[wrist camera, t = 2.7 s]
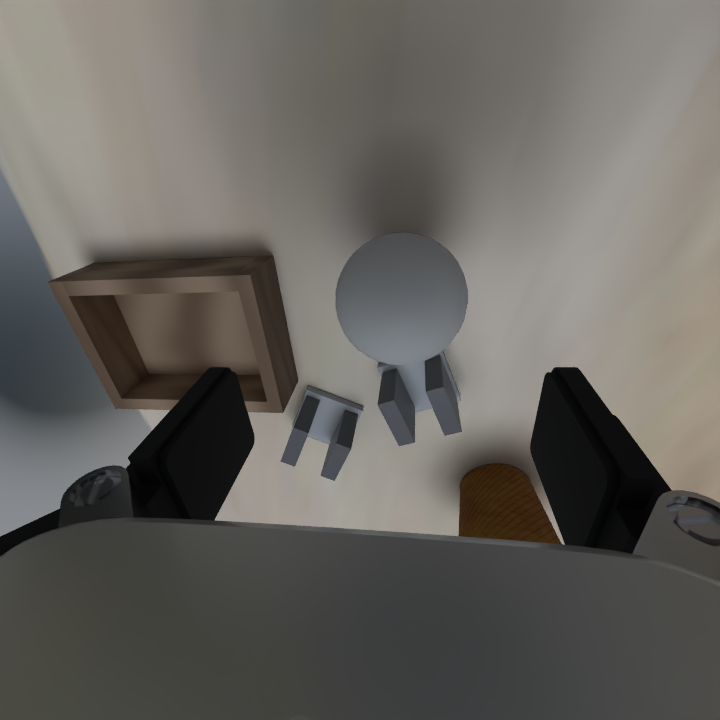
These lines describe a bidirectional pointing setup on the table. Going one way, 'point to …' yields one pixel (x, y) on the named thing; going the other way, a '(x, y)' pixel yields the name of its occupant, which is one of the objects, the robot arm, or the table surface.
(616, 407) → the table surface
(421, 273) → the lightbulb
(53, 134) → the table surface
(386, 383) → the clip
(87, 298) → the tray
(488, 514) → the disposable coffee cup
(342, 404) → the clip
